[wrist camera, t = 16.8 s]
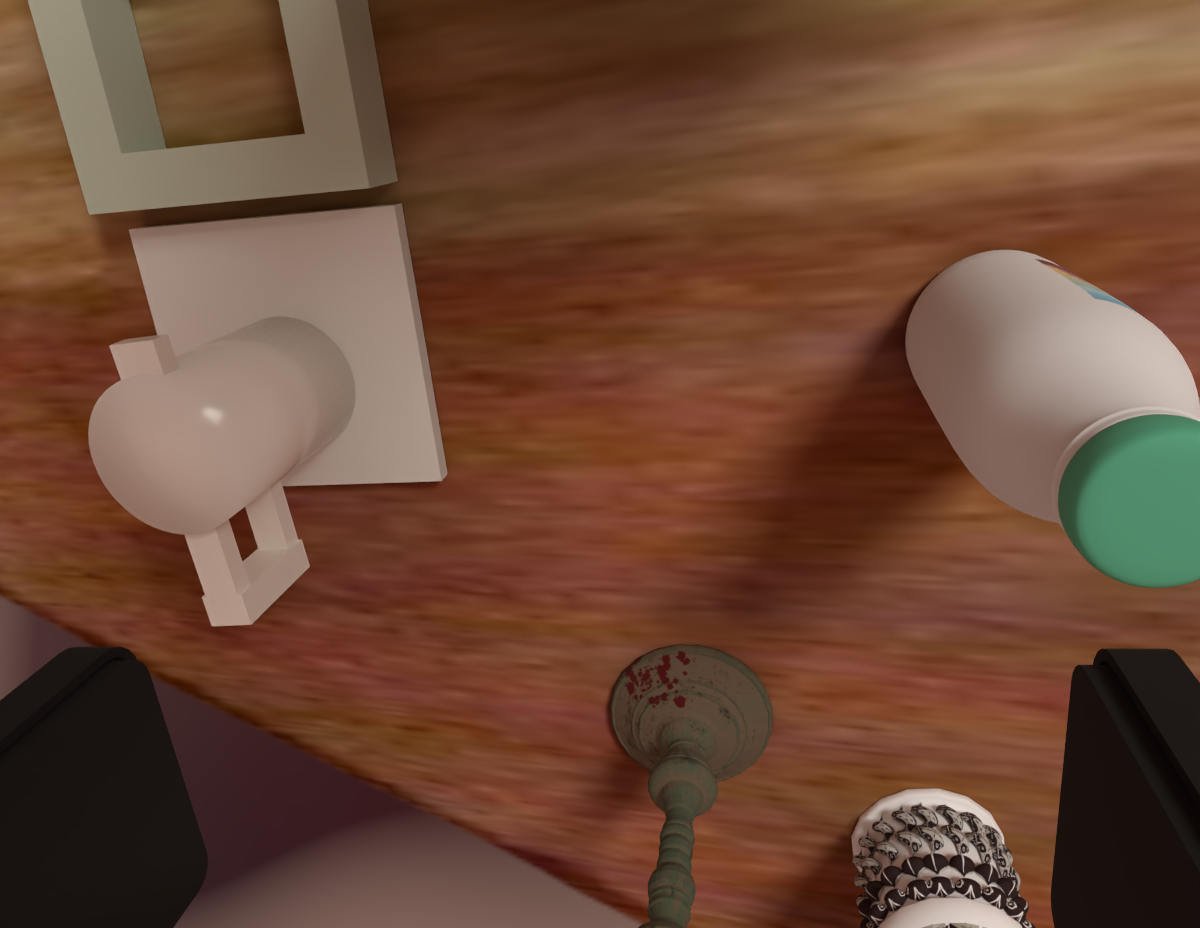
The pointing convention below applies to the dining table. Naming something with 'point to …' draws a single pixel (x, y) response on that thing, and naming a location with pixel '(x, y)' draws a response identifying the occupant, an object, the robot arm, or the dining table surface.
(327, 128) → the holder
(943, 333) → the milk bottle
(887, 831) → the decorative candle
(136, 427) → the capsule with loop handle
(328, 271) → the tile
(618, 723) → the candlestick holder
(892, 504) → the dining table surface
